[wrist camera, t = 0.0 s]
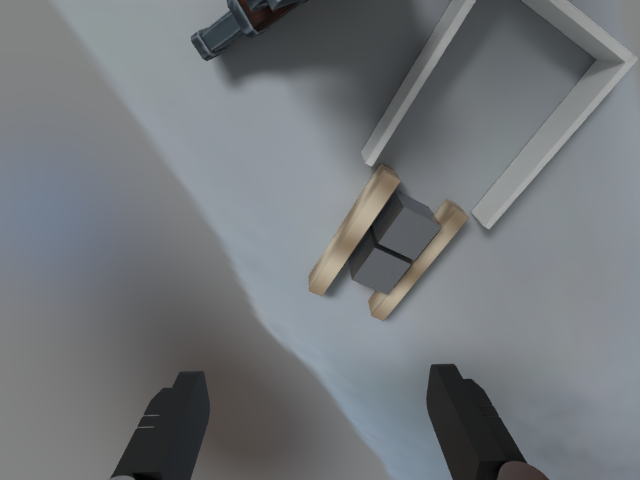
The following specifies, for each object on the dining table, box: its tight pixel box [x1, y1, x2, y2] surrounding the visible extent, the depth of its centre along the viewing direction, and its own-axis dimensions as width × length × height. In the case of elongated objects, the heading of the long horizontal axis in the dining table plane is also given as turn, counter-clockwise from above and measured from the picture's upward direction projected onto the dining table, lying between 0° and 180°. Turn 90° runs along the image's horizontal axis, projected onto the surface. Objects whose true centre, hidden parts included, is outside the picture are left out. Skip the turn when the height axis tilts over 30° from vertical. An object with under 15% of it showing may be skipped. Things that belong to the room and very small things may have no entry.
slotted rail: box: [309, 164, 469, 321], centre depth 35 cm, size 14×9×2 cm, turn 152°
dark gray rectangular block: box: [348, 227, 411, 295], centre depth 35 cm, size 4×4×4 cm
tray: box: [361, 0, 638, 229], centre depth 28 cm, size 16×13×3 cm
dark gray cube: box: [372, 190, 442, 260], centre depth 33 cm, size 4×4×4 cm
